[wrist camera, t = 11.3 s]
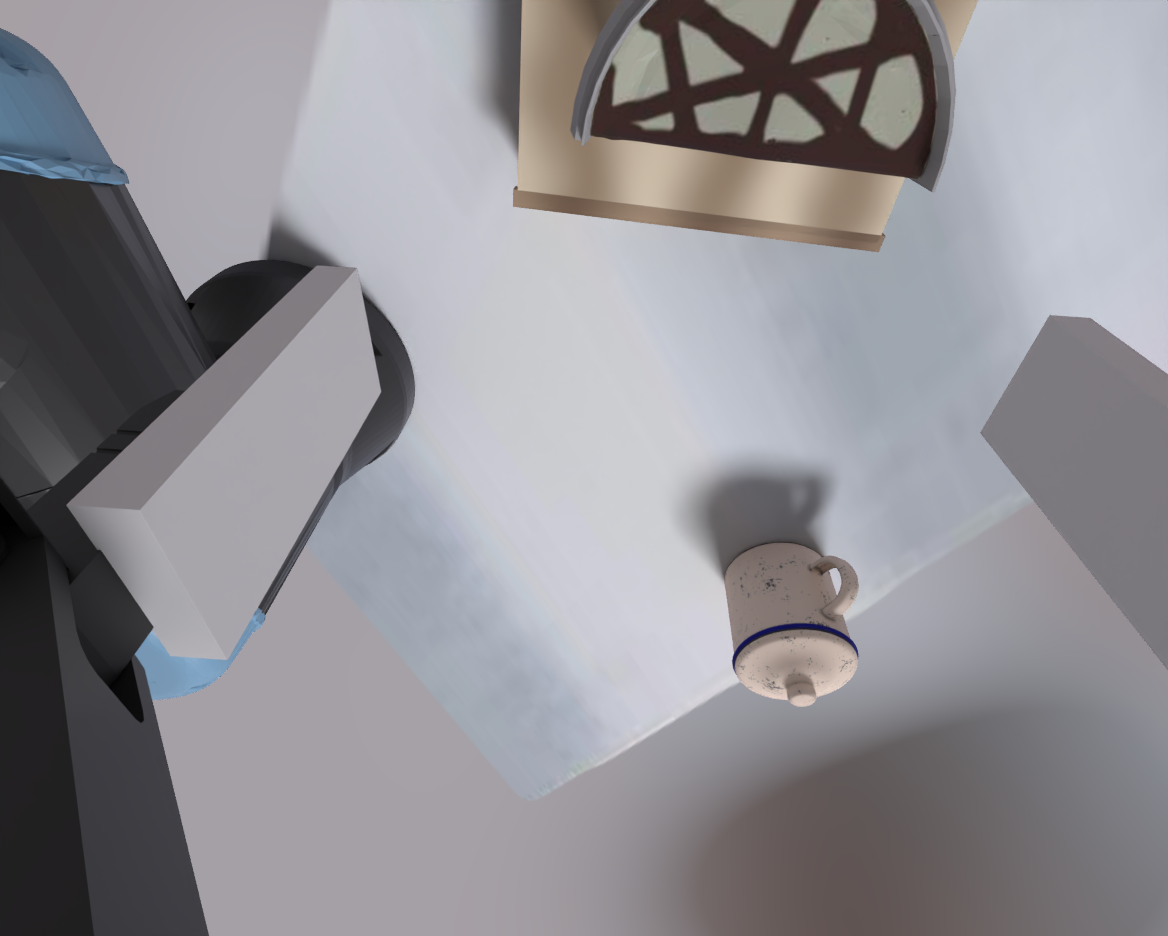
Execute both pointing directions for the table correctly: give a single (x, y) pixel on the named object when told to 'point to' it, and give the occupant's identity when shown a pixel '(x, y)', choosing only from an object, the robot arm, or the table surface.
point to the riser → (678, 155)
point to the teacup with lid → (790, 622)
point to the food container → (777, 82)
